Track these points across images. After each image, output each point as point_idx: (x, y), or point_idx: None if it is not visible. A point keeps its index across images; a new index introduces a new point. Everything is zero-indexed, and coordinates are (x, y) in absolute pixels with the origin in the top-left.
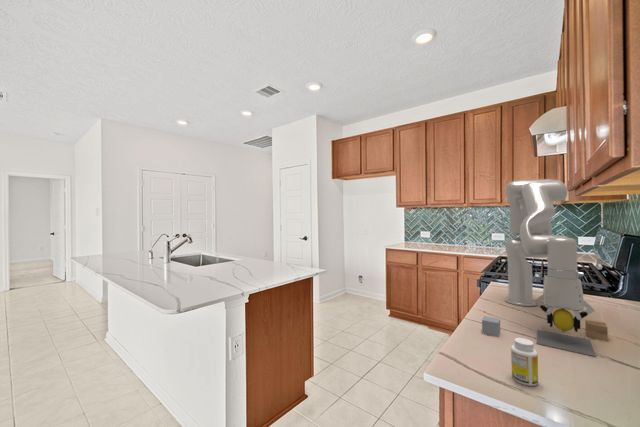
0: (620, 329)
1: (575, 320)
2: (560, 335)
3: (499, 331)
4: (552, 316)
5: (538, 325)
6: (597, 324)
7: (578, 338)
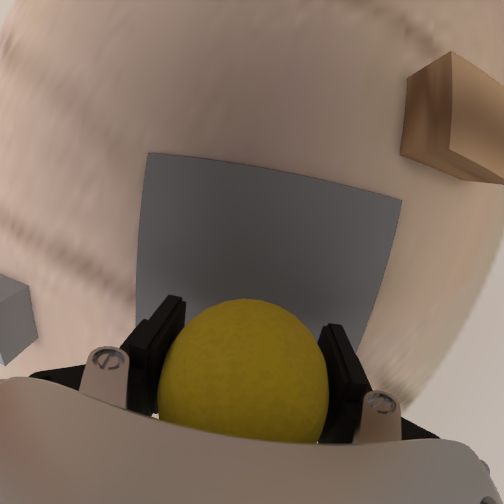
0: (501, 26)
1: (318, 442)
2: (260, 202)
3: (24, 317)
4: (157, 412)
5: (174, 60)
6: (491, 152)
7: (350, 209)
